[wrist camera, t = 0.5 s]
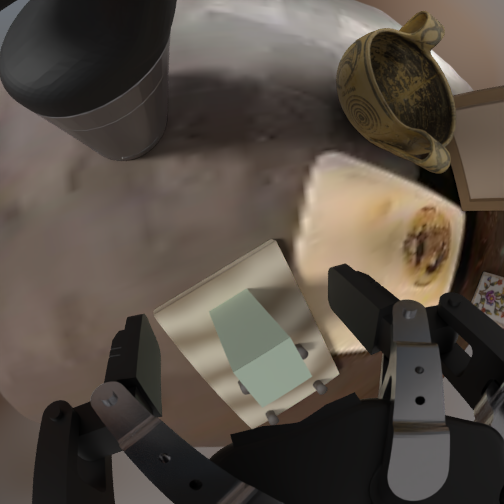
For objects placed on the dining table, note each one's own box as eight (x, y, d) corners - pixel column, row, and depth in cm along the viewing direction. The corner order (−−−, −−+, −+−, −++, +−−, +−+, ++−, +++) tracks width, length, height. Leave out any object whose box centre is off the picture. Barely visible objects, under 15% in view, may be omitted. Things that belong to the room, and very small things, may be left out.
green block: (208, 311, 30) (233, 372, 19) (246, 288, 31) (290, 337, 20) (230, 342, 32) (262, 407, 21) (265, 321, 33) (312, 376, 21)
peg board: (153, 310, 30) (152, 322, 27) (271, 238, 33) (282, 243, 29) (249, 423, 37) (256, 437, 34) (334, 369, 40) (346, 380, 37)
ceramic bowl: (325, 24, 29) (387, -24, 15) (406, 74, 34) (472, 53, 20) (301, 154, 32) (388, 132, 18) (396, 192, 37) (479, 198, 23)
